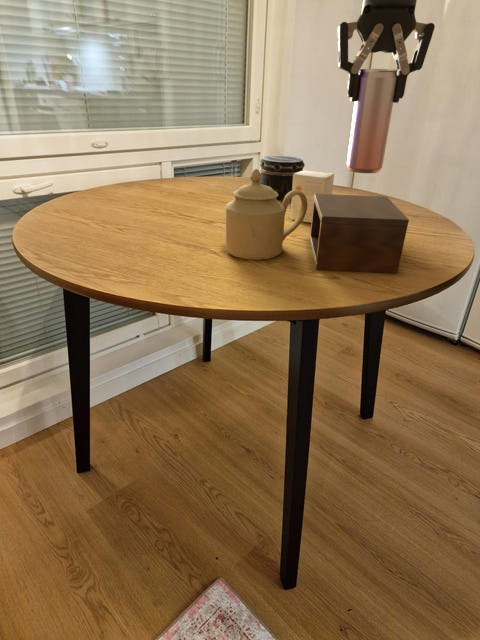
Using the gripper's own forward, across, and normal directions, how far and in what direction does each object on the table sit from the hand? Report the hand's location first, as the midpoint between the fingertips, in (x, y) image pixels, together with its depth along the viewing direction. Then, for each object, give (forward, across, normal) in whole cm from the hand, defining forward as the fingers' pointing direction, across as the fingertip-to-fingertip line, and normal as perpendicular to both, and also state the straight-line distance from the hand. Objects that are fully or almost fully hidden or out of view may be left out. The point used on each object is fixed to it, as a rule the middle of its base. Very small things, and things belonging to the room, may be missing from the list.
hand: (373, 101), depth 68 cm
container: (+26, -13, +47) cm, 55 cm away
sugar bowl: (+26, -17, +2) cm, 31 cm away
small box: (+26, -6, +23) cm, 35 cm away
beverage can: (+11, 0, 0) cm, 11 cm away
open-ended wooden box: (+26, 0, 0) cm, 26 cm away
